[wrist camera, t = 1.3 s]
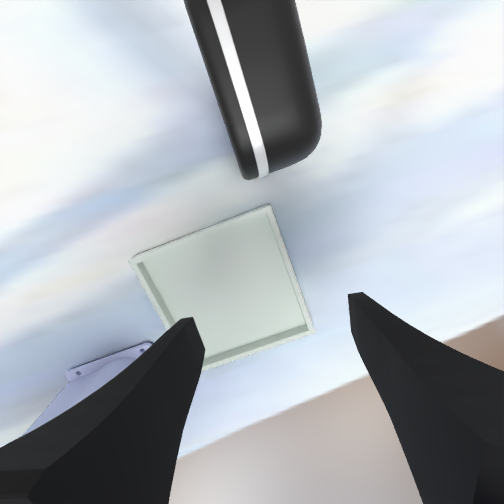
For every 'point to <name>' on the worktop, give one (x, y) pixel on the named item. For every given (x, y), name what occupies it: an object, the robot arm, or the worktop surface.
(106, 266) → the worktop surface
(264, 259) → the tray
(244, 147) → the battery charger
